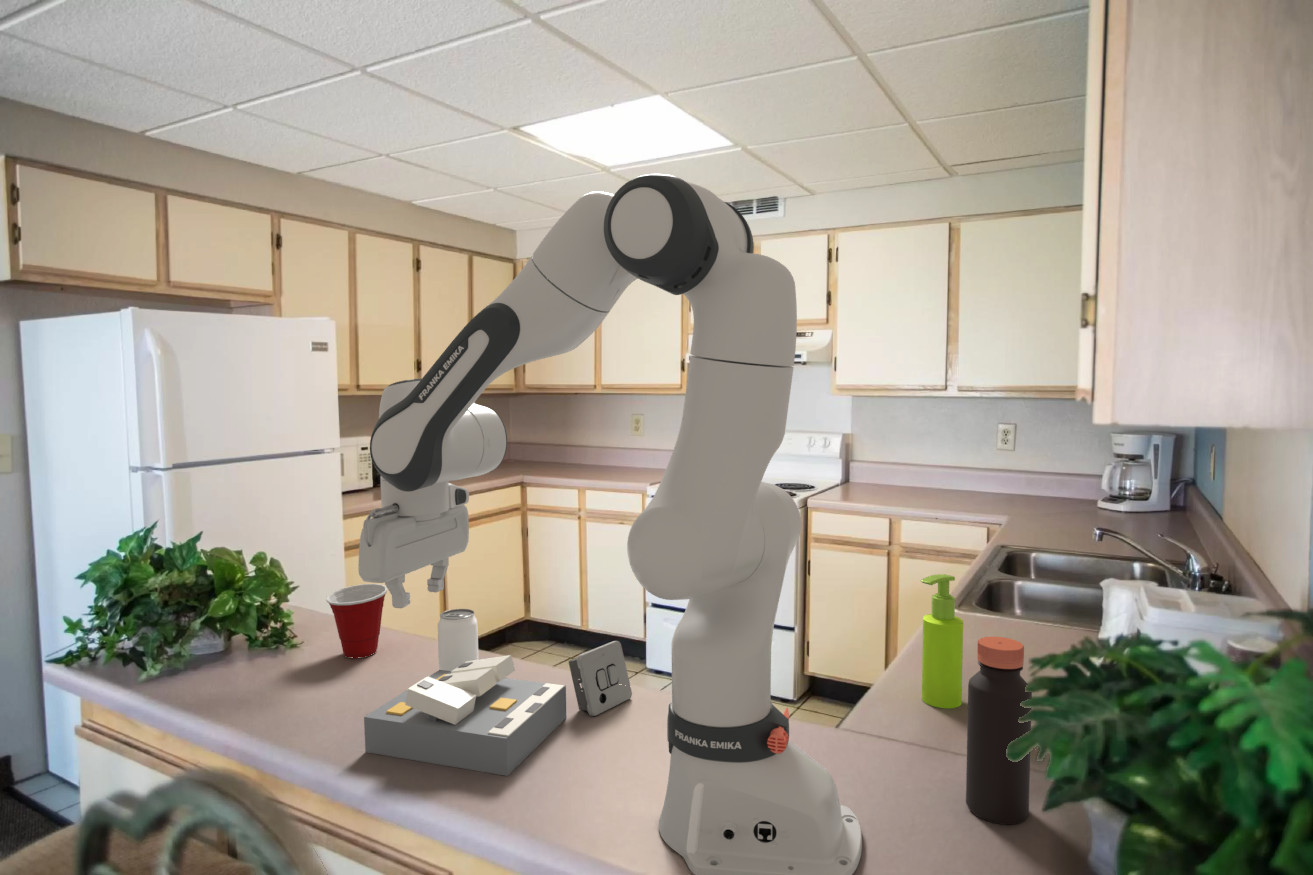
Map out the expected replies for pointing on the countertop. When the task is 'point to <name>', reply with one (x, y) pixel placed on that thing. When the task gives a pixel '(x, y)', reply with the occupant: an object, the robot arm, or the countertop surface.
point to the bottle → (997, 733)
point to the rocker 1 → (440, 700)
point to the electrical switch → (600, 678)
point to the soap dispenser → (942, 648)
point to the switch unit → (471, 727)
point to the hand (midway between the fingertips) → (419, 598)
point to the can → (457, 638)
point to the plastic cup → (358, 617)
